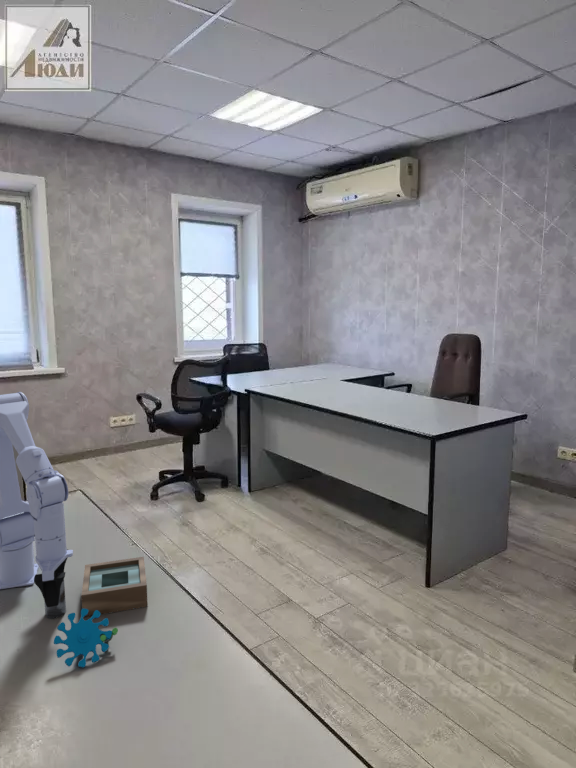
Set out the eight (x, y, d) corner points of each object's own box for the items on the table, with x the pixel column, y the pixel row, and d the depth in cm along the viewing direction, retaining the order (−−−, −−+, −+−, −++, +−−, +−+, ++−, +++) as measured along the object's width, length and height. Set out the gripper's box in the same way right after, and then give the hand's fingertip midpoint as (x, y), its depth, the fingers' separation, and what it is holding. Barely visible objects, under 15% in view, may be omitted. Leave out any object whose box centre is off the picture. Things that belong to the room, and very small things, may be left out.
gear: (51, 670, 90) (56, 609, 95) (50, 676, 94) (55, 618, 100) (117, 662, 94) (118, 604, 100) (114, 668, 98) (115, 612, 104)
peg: (46, 609, 110) (44, 578, 109) (67, 605, 111) (65, 575, 110) (44, 620, 106) (41, 588, 105) (65, 616, 108) (63, 585, 106)
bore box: (86, 585, 119) (85, 564, 119) (144, 576, 123) (143, 556, 123) (82, 617, 107) (81, 595, 106) (147, 606, 111) (146, 585, 110)
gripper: (68, 547, 100) (72, 611, 103) (74, 517, 114) (77, 575, 116) (28, 552, 98) (33, 618, 100) (39, 522, 112) (43, 580, 114)
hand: (54, 595), depth 108 cm, fingers open, 7 cm apart
